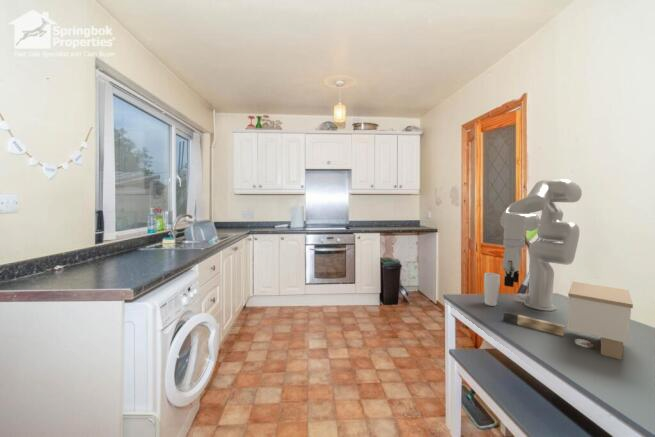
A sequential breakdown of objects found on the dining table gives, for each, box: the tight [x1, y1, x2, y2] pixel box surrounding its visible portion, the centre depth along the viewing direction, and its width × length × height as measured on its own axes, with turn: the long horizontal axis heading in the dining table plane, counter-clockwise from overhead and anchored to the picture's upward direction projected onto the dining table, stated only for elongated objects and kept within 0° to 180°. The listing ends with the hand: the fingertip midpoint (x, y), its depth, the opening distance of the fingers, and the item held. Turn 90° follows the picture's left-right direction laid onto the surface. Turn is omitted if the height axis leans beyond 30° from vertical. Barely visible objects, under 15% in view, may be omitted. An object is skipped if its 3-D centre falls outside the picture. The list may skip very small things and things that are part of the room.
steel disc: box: [574, 338, 594, 349], centre depth 107 cm, size 5×5×1 cm
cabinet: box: [566, 281, 634, 360], centre depth 106 cm, size 16×21×19 cm
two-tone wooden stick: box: [502, 311, 565, 337], centre depth 121 cm, size 20×2×4 cm, turn 48°
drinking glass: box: [483, 272, 501, 307], centre depth 146 cm, size 7×7×15 cm
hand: (511, 283), depth 125 cm, fingers open, 9 cm apart
